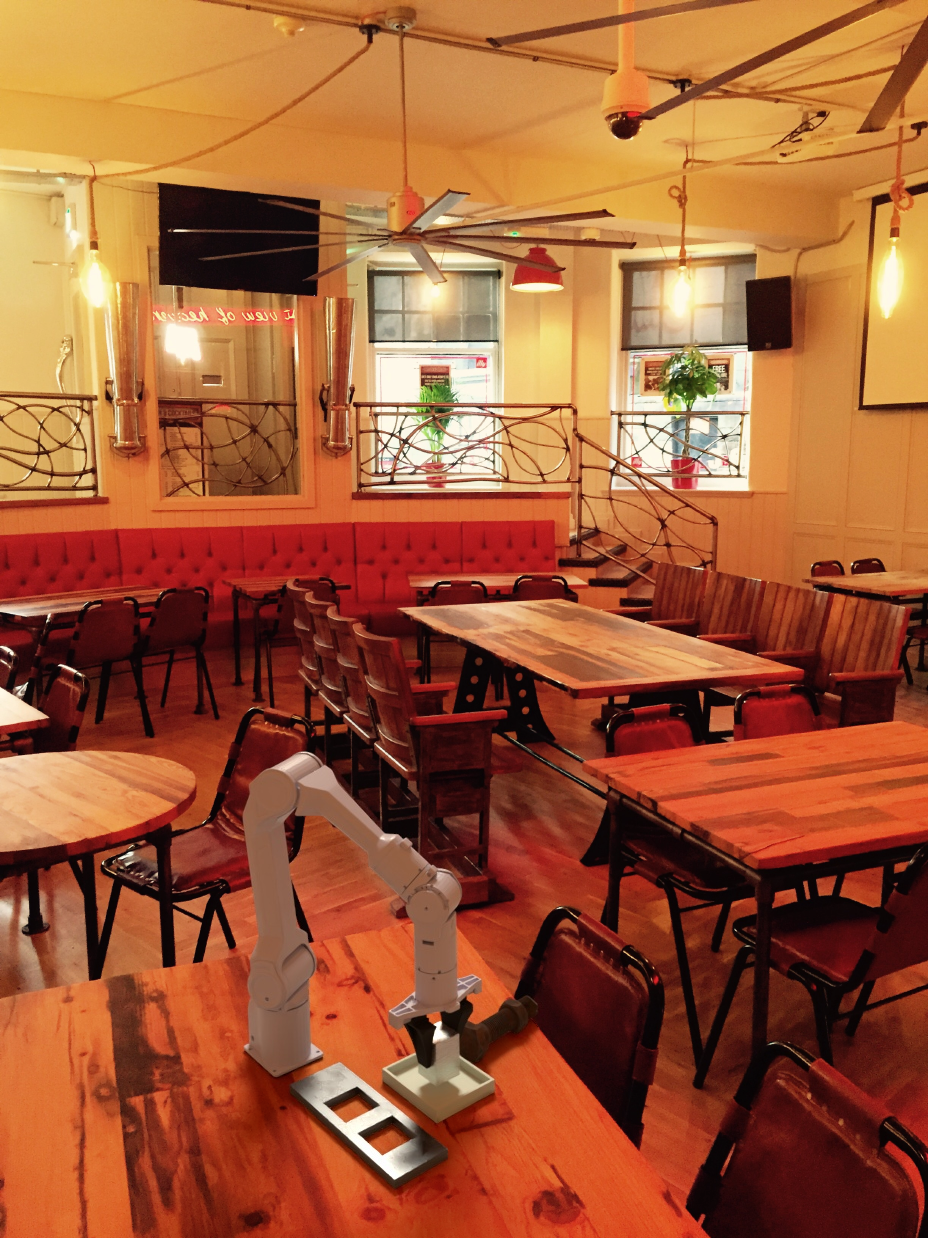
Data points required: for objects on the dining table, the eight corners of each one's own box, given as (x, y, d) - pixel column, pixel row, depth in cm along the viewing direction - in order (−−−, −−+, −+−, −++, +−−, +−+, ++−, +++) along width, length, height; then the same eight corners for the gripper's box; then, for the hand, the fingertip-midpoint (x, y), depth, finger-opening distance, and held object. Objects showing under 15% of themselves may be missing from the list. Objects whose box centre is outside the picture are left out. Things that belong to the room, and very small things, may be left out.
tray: (382, 1081, 134) (382, 1068, 134) (439, 1053, 141) (438, 1041, 140) (436, 1123, 125) (436, 1110, 125) (494, 1092, 131) (494, 1079, 131)
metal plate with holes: (289, 1093, 132) (289, 1085, 132) (340, 1070, 137) (339, 1062, 137) (394, 1189, 114) (394, 1180, 113) (448, 1158, 119) (448, 1149, 118)
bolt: (534, 1030, 150) (470, 1071, 139) (512, 1004, 152) (447, 1043, 141) (550, 1005, 147) (486, 1045, 136) (528, 980, 150) (462, 1017, 139)
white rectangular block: (418, 1073, 133) (417, 1032, 132) (441, 1062, 135) (440, 1021, 134) (436, 1086, 130) (435, 1044, 129) (459, 1075, 132) (459, 1033, 131)
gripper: (410, 994, 123) (412, 1094, 125) (496, 957, 132) (497, 1050, 134) (378, 973, 128) (380, 1069, 130) (462, 939, 137) (463, 1029, 139)
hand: (437, 1058), depth 132 cm, fingers closed on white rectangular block, 4 cm apart
